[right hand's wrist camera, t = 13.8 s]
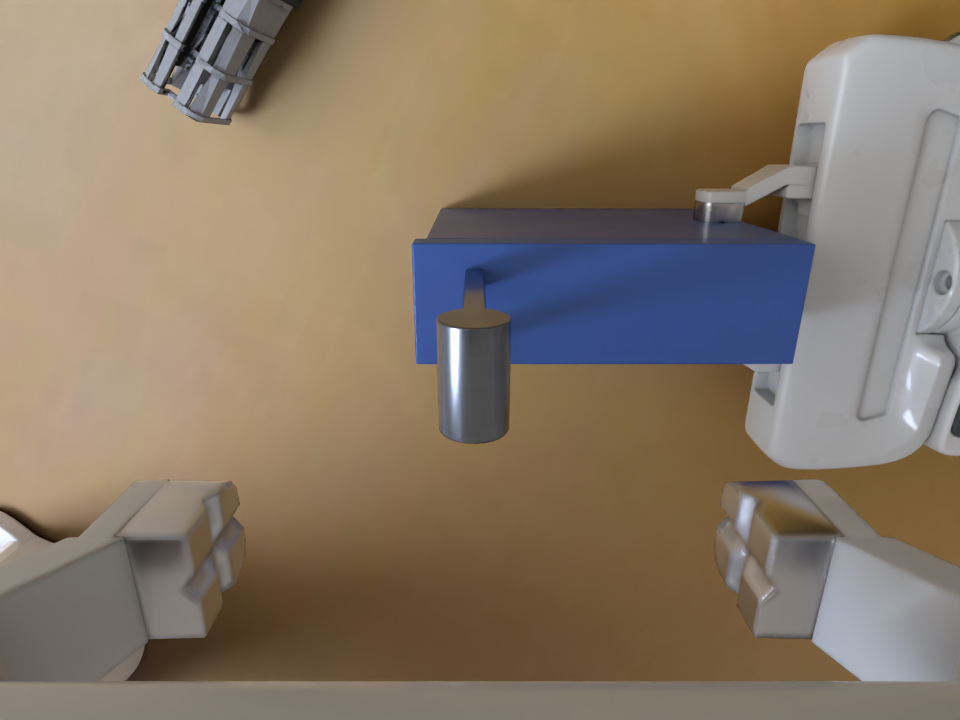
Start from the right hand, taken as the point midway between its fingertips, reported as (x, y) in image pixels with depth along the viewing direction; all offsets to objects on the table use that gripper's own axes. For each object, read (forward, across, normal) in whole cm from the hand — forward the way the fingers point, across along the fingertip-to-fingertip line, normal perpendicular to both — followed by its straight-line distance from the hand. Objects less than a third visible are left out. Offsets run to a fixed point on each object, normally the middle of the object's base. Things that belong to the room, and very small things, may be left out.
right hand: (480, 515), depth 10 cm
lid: (+15, -5, 0) cm, 16 cm away
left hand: (+20, -10, 0) cm, 23 cm away
